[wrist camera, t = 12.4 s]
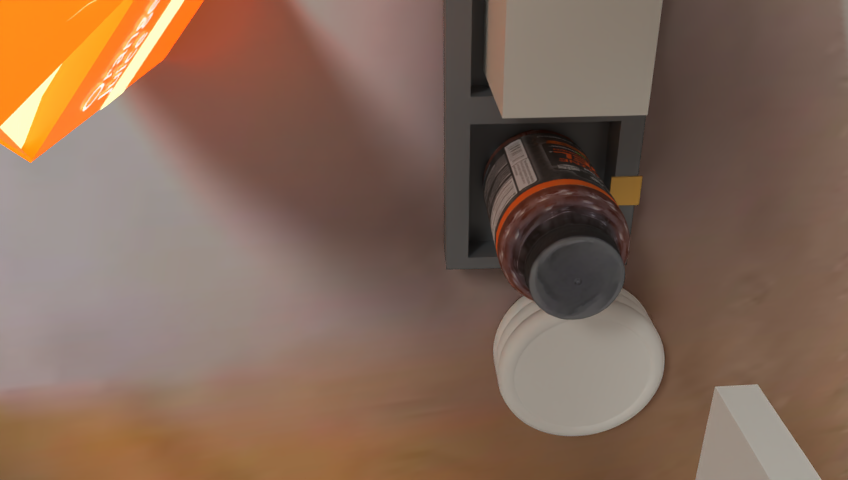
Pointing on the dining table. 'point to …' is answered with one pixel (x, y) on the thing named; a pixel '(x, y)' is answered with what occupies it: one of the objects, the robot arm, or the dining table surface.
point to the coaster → (578, 366)
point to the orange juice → (76, 61)
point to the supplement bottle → (555, 225)
